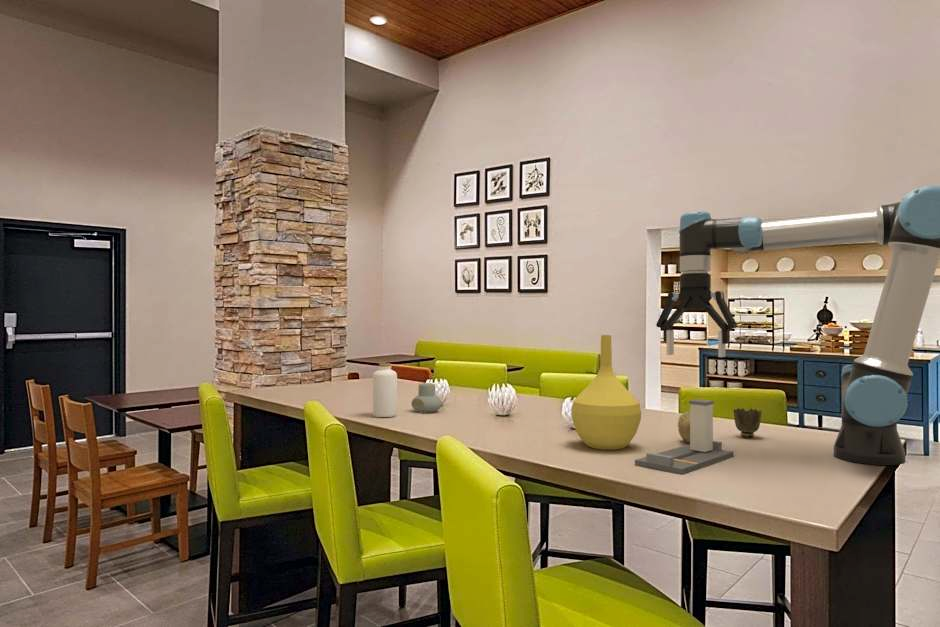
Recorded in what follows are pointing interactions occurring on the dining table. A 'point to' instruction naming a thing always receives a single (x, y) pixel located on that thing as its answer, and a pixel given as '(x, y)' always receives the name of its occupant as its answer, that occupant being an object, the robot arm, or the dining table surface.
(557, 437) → the dining table surface
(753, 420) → the cup
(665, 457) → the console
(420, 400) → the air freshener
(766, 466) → the dining table surface
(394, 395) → the white bottle
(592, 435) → the vase
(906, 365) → the robot arm
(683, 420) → the coral
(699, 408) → the fader tab
